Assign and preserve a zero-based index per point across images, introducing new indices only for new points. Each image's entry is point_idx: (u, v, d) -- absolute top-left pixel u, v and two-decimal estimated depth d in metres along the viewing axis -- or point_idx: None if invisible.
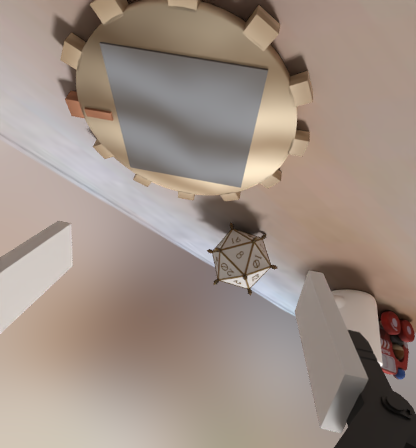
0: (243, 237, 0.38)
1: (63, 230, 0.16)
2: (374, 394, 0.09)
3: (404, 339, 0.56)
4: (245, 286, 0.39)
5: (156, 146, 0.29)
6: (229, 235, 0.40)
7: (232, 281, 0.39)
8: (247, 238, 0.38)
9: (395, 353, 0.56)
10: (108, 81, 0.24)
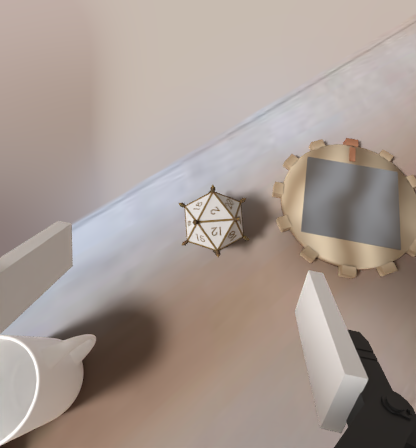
0: None
1: (63, 230, 0.16)
2: (374, 394, 0.09)
3: None
4: (204, 218, 0.35)
5: (332, 180, 0.43)
6: None
7: (214, 205, 0.35)
8: None
9: None
10: (375, 168, 0.44)
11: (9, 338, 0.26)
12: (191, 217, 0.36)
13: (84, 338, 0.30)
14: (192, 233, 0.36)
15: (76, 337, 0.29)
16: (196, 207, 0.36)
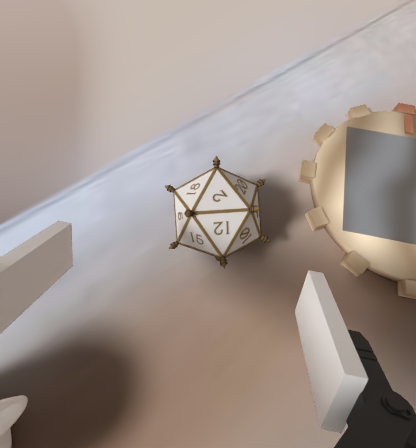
0: None
1: (63, 230, 0.16)
2: (374, 394, 0.09)
3: None
4: (203, 208, 0.22)
5: (383, 158, 0.31)
6: None
7: (219, 188, 0.23)
8: None
9: None
10: None
11: None
12: (183, 206, 0.23)
13: None
14: (184, 230, 0.24)
15: None
16: (190, 191, 0.24)
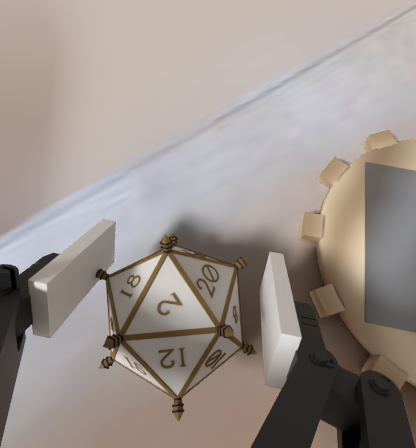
0: None
1: (109, 227, 0.17)
2: (303, 352, 0.11)
3: None
4: (139, 328, 0.13)
5: None
6: None
7: (169, 290, 0.14)
8: None
9: None
10: None
11: None
12: (113, 315, 0.14)
13: None
14: (116, 352, 0.15)
15: None
16: (126, 289, 0.15)
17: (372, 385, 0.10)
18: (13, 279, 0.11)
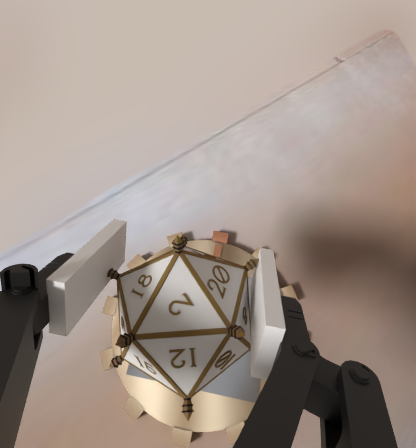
0: None
1: (121, 228, 0.17)
2: (287, 343, 0.11)
3: None
4: (151, 327, 0.13)
5: None
6: None
7: (180, 290, 0.14)
8: None
9: None
10: None
11: None
12: (124, 314, 0.14)
13: None
14: (127, 351, 0.15)
15: None
16: (137, 288, 0.15)
17: (352, 375, 0.10)
18: (32, 279, 0.12)
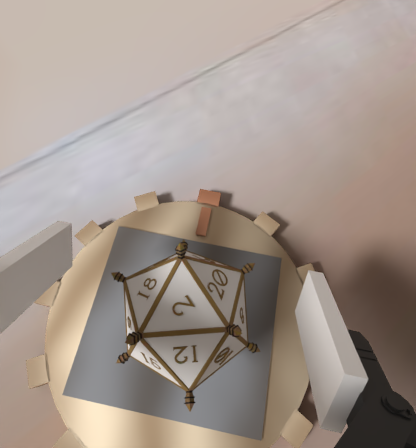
0: None
1: (63, 230, 0.16)
2: (374, 394, 0.09)
3: None
4: (156, 326, 0.14)
5: None
6: None
7: (183, 292, 0.15)
8: None
9: None
10: (242, 249, 0.24)
11: None
12: (131, 314, 0.16)
13: None
14: (134, 348, 0.16)
15: None
16: (143, 291, 0.16)
17: None
18: None
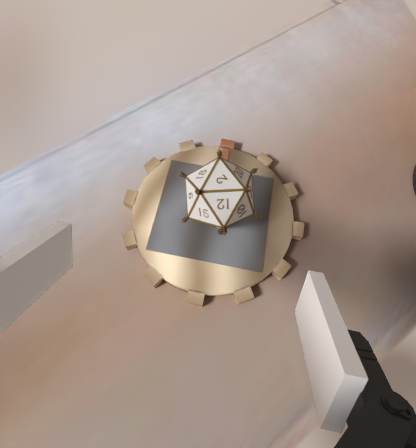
0: None
1: (63, 230, 0.16)
2: (374, 394, 0.09)
3: None
4: (209, 188, 0.29)
5: None
6: None
7: (221, 173, 0.29)
8: None
9: None
10: None
11: None
12: (193, 187, 0.30)
13: None
14: (194, 206, 0.30)
15: None
16: (199, 176, 0.30)
17: None
18: None
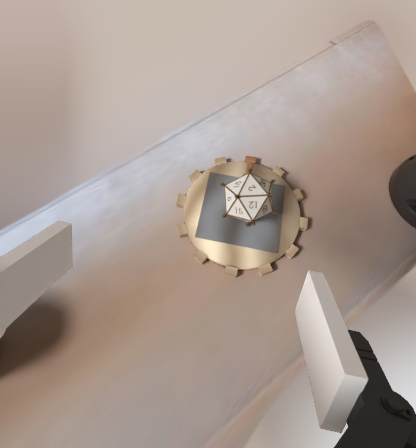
0: None
1: (63, 230, 0.16)
2: (374, 394, 0.09)
3: None
4: (243, 194, 0.42)
5: None
6: None
7: (251, 184, 0.43)
8: None
9: None
10: None
11: None
12: (231, 193, 0.43)
13: None
14: (232, 206, 0.44)
15: None
16: (235, 185, 0.44)
17: None
18: None
